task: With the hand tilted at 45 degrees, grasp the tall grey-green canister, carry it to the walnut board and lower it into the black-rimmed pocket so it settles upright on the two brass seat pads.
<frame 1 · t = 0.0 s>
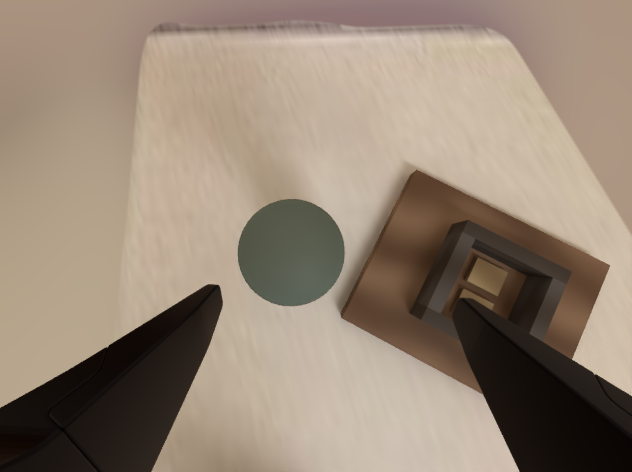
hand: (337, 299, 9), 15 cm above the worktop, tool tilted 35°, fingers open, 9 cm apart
walnut seat board: (466, 289, 24), on the worktop
grey-green canister: (305, 255, 24), on the worktop
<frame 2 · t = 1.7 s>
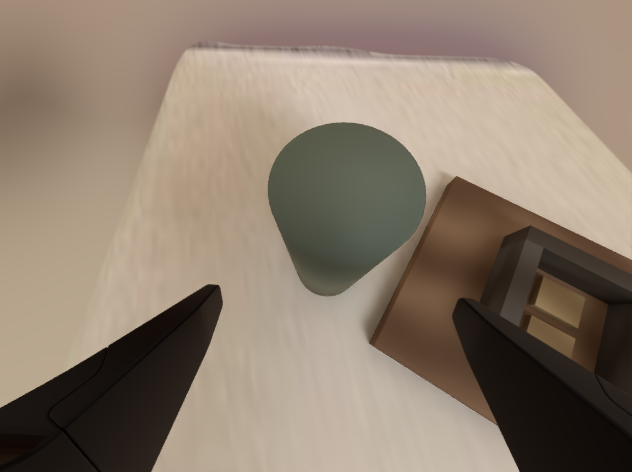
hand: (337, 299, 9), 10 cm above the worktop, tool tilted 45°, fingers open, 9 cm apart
walnut seat board: (530, 320, 19), on the worktop
grey-green canister: (327, 265, 20), on the worktop
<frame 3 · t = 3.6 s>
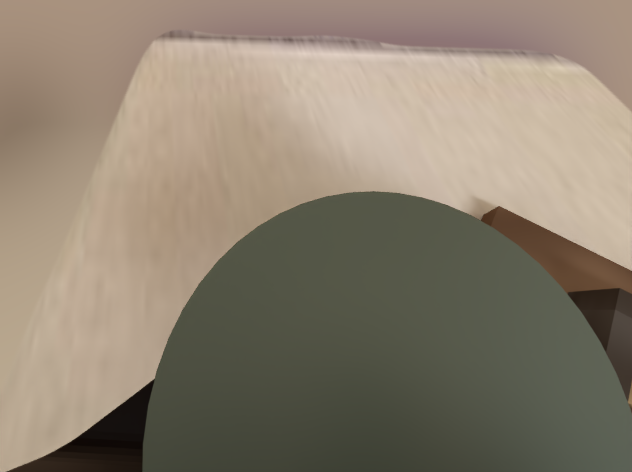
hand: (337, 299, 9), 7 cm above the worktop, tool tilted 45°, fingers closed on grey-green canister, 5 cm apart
walnut seat board: (605, 410, 14), on the worktop
grey-green canister: (327, 327, 15), on the worktop, touching gripper
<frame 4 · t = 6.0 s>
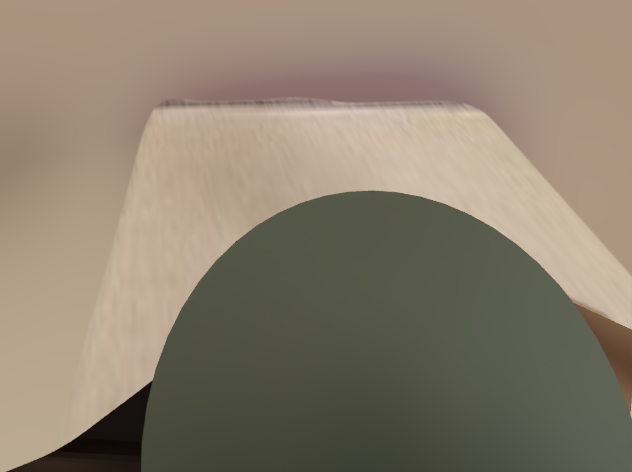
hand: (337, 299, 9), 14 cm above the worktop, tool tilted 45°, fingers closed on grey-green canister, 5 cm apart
walnut seat board: (482, 362, 20), on the worktop
grey-green canister: (327, 327, 15), point 7 cm above the worktop, touching gripper
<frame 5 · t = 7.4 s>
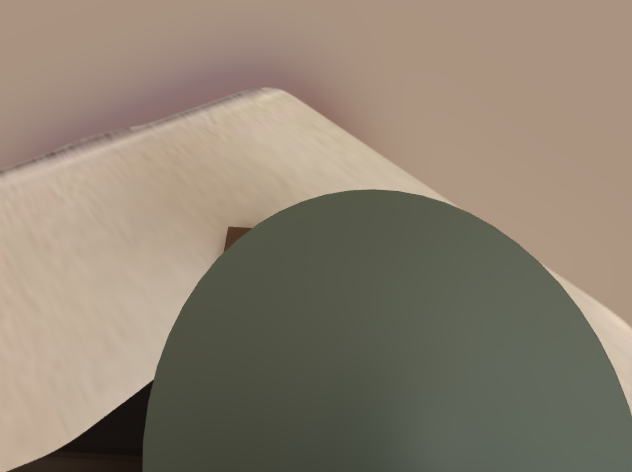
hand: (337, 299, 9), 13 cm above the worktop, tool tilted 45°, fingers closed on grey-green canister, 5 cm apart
grey-green canister: (327, 327, 15), point 7 cm above the worktop, touching gripper
when the fingers open (10 cm above the worktop, at t = 8.7 s): grey-green canister drops 1 cm, resting on walnut seat board.
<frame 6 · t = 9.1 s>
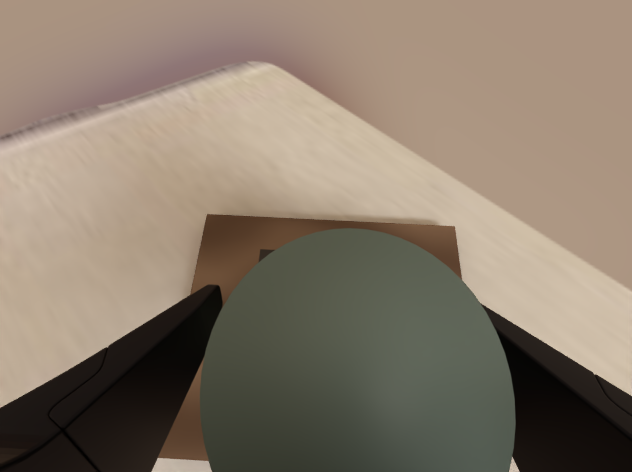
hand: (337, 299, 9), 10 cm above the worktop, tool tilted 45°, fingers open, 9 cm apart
walnut seat board: (325, 324, 18), on the worktop
grey-green canister: (326, 326, 16), point 2 cm above the worktop, touching walnut seat board
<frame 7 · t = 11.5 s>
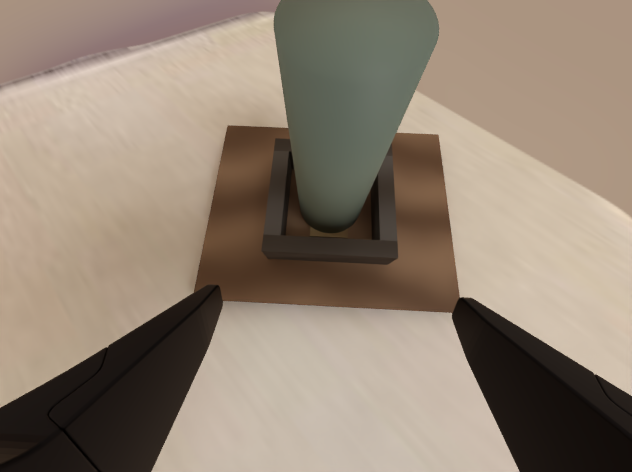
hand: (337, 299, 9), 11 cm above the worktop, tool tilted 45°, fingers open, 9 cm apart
walnut seat board: (328, 214, 22), on the worktop
grey-green canister: (330, 204, 20), point 2 cm above the worktop, touching walnut seat board
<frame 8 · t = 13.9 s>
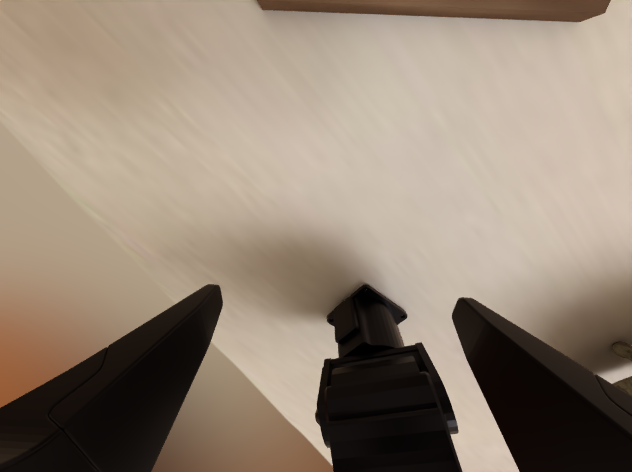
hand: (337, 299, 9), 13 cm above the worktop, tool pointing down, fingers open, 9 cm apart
tabletop clock: (617, 351, 28), on the worktop
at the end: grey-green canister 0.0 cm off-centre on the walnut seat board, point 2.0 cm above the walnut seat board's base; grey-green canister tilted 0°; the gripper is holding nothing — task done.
